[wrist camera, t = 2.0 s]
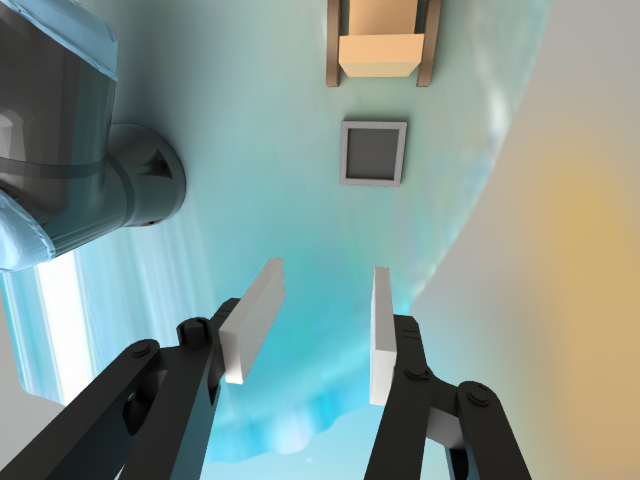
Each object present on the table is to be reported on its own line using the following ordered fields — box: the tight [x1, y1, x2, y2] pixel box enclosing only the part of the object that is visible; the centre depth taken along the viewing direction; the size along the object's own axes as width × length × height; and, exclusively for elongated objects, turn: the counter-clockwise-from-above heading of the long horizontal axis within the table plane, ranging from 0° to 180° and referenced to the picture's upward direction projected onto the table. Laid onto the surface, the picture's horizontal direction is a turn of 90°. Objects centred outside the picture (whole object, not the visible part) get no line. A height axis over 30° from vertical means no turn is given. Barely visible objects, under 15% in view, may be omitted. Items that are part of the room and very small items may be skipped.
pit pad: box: [340, 121, 407, 187], centre depth 39 cm, size 8×8×1 cm
